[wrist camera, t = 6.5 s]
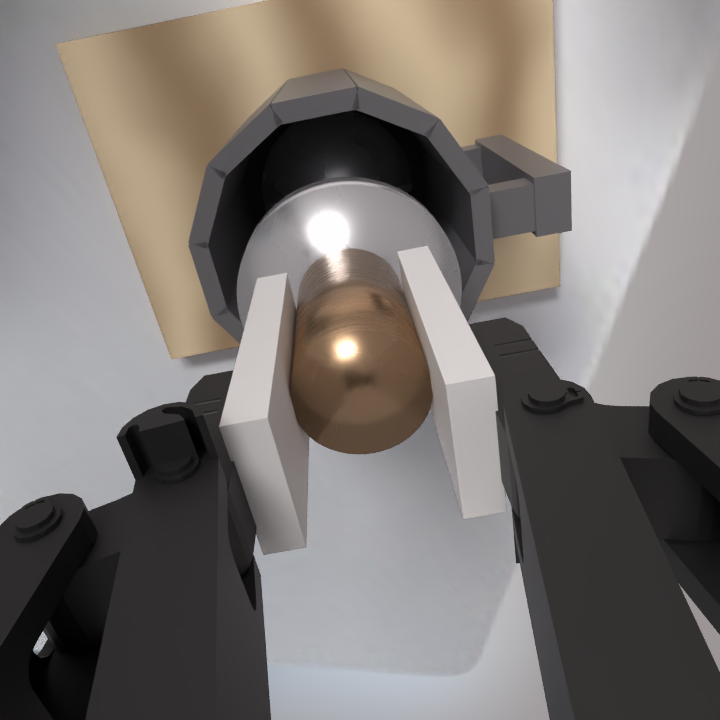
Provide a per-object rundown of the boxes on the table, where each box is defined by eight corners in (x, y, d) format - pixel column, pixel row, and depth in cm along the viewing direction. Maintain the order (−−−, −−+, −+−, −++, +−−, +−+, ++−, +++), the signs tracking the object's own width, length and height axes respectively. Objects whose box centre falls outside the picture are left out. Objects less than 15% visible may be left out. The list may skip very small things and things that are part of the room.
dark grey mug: (265, 286, 33) (239, 404, 22) (213, 94, 28) (150, 127, 18) (496, 241, 32) (583, 341, 22) (481, 40, 28) (580, 41, 17)
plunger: (282, 269, 30) (238, 551, 14) (246, 125, 27) (131, 264, 10) (418, 243, 30) (541, 497, 13) (398, 95, 27) (526, 188, 10)
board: (175, 349, 36) (171, 359, 34) (65, 43, 28) (55, 44, 27) (552, 278, 35) (559, 286, 34) (542, -55, 27) (551, -58, 26)
